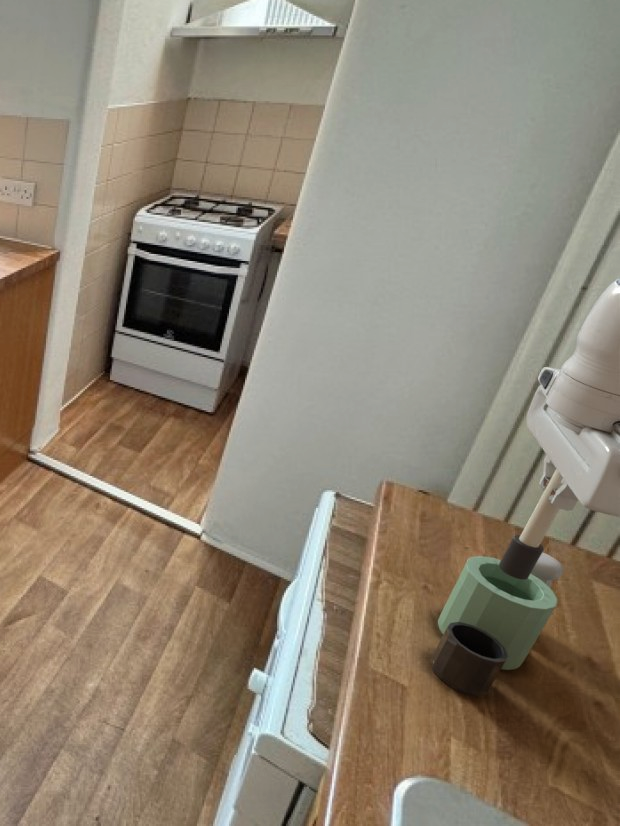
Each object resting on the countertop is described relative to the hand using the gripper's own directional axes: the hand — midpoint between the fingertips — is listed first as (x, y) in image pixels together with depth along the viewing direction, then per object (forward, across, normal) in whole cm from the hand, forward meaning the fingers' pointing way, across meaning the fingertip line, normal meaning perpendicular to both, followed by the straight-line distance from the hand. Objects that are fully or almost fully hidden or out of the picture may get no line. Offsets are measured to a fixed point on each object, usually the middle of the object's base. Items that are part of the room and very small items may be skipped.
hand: (553, 498), depth 75 cm
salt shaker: (+30, +13, -8) cm, 34 cm away
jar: (+30, +6, -3) cm, 31 cm away
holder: (+30, -3, +1) cm, 30 cm away
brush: (+12, 0, 0) cm, 12 cm away
